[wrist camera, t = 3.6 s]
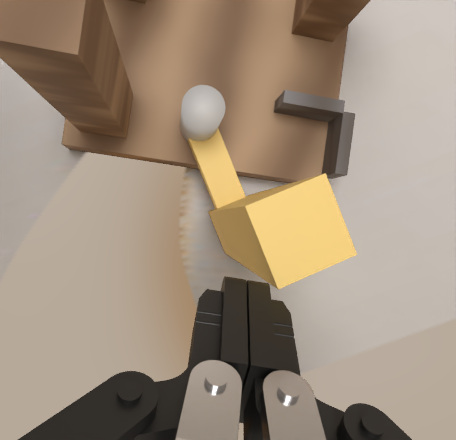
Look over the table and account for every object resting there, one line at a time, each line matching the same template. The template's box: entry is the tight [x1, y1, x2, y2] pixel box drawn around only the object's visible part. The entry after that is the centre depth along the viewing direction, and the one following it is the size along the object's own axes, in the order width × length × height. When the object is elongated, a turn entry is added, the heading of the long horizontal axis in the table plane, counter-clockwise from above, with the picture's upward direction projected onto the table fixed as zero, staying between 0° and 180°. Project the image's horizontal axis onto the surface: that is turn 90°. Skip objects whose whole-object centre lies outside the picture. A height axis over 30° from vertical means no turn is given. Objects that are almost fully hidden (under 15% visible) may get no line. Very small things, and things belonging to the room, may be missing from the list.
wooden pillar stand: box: [0, 0, 370, 183], centre depth 22 cm, size 18×14×16 cm
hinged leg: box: [180, 85, 357, 289], centre depth 20 cm, size 10×3×14 cm, turn 22°
